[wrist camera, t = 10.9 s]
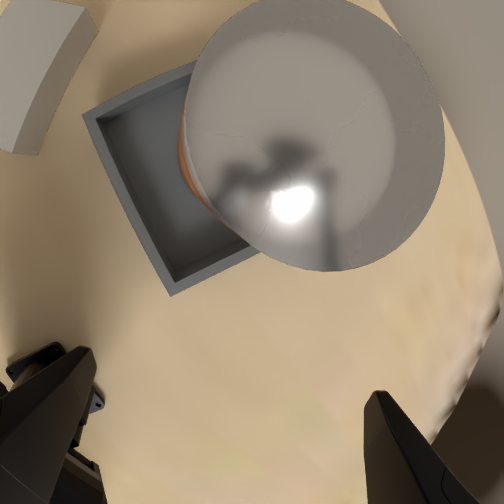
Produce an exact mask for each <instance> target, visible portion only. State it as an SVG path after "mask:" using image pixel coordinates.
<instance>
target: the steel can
mask: <svg viewBox="0 0 504 504" xmlns="http://www.w3.org/2000/svg"><path fill="white" fill-rule="evenodd" d="M444 157H445V133H444V123H443V117H442V112H441V107H440V104H439V100H438V97H437V94H436V91H435V89H434V86H433V84H432V81H431V79H430V77H429V75H428V73H427V71H426V70H425V68H424V66H423V64H422V63H421V61H420V60H419V58H418V57H417V55H416V54H415V52H414V51H413V50H412V48H411V47H410V46H409V45H408V44H407V43H406V41H405V40H404V39H403V38H402V37H401V36H400V35H399V34H398V33H397V32H396V31H395V30H394V29H393V28H392V27H390V26H389V25H388V24H386V23H385V22H384V21H383V20H381V19H380V18H379V17H377V16H375V15H374V14H372V13H370V12H369V11H367V10H365V9H363V8H361V7H359V6H357V5H355V4H353V3H350V2H348V1H345V0H262V1H259V2H257V3H254V4H252V5H250V6H248V7H246V8H245V9H243V10H241V11H240V12H238V13H236V14H235V15H234V16H233V17H231V18H230V19H229V20H228V21H226V22H225V23H224V24H223V25H222V26H221V27H220V28H219V29H218V30H217V31H216V33H215V34H214V35H213V36H212V37H211V38H210V40H209V41H208V43H207V44H206V46H205V48H204V49H203V51H202V52H201V54H200V56H199V58H198V60H197V63H196V65H195V68H194V70H193V72H192V76H191V80H190V84H189V88H188V92H187V95H186V98H185V101H184V105H183V109H182V114H181V119H180V126H179V134H178V141H177V163H178V167H179V171H180V174H181V177H182V179H183V181H184V182H185V184H186V186H187V187H188V189H189V190H190V191H191V193H192V194H193V195H194V196H195V197H196V198H197V199H198V200H199V201H200V202H201V203H202V204H203V205H204V206H205V207H206V208H207V209H208V210H209V211H210V212H211V213H212V214H213V215H215V216H216V217H217V218H218V219H219V220H220V221H221V222H223V223H224V224H225V225H226V226H227V227H229V228H230V229H232V230H233V231H235V232H236V233H237V234H238V235H239V236H240V237H242V238H243V239H244V240H245V241H247V242H248V243H249V244H250V245H251V246H253V247H254V248H256V249H257V250H259V251H261V252H262V253H264V254H266V255H267V256H269V257H271V258H273V259H275V260H278V261H280V262H282V263H285V264H287V265H290V266H294V267H298V268H302V269H305V270H313V271H322V272H327V271H343V270H349V269H355V268H358V267H361V266H364V265H367V264H370V263H373V262H375V261H377V260H379V259H381V258H383V257H385V256H386V255H388V254H389V253H391V252H392V251H393V250H395V249H396V248H398V247H399V246H400V245H401V244H402V243H403V242H404V241H406V240H407V239H408V238H409V237H410V236H411V234H412V233H413V232H414V231H415V230H416V229H417V227H418V226H419V225H420V223H421V222H422V220H423V219H424V217H425V216H426V214H427V212H428V210H429V209H430V207H431V205H432V203H433V201H434V198H435V195H436V193H437V190H438V187H439V184H440V180H441V176H442V171H443V165H444Z"/></svg>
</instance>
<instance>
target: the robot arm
mask: <svg viewBox="0 0 504 504" xmlns="http://www.w3.org/2000/svg"><path fill="white" fill-rule="evenodd" d="M54 347H55V348H57V349H58V351H56V350H55V349H54ZM96 369H97V365H96V362H95V358H94V355H93V352H92V350H91V348H88V347H85V346H78V347H76V348H75V349H73V350H72V351H70V352H69V353H66V351H65V350H64V348H63V347H62V346H61V344H60V343H58V342H53V343H51V344H49V345H47V346H45V347H43V348H41V349H39V350H37V351H35V352H33V353H31V354H29V355H27V356H25V357H23V358H21V359H19V360H17V361H15V362H13V363H11V364H9V365H8V366H7V368H6V373H7V375H8V376H9V377H10V378H11V380H12V381H13V382H14V384H13V386H12V388H11V389H10V391H9V392H8V391H7V389H6V387H5V385H4V384H3V383H2V382H1V381H0V504H107V499H106V495H105V491H104V487H103V483H102V479H101V474H100V469H99V465H98V464H96V463H95V462H93V461H90V460H88V459H87V458H85V457H84V456H83V455H81V454H80V453H79V452H77V451H76V450H75V449H73V448H75V447H78V446H79V443H80V439H81V435H82V430H83V426H84V425H86V423H87V419H88V415H89V414H90V413H93V412H96V411H98V410H101V409H103V408H104V406H105V401H104V400H103V398H102V397H101V396H100V395H99V394H98V392H97V391H96V390H95V388H94V386H93V385H92V383H93V380H94V376H95V373H96ZM10 370H11V371H12V372H11V371H10ZM97 402H98V403H100V404H98V403H97ZM364 461H365V472H366V485H367V499H368V504H480V503H479V501H477V500H476V499H475V498H474V496H473V495H472V494H471V493H470V492H469V491H468V490H467V489H466V488H465V487H464V486H463V485H462V484H461V483H460V482H459V481H458V479H457V478H456V477H455V476H454V474H453V473H452V472H451V471H450V469H449V468H448V467H447V466H445V463H444V462H443V460H442V459H441V458H440V457H439V456H438V454H437V453H436V452H435V450H434V449H433V448H432V447H431V445H430V444H429V443H428V442H427V440H426V439H425V438H424V436H423V435H422V434H421V433H420V431H419V430H418V429H417V428H416V426H415V425H414V424H413V423H412V421H411V420H410V419H409V418H408V416H407V415H406V414H405V413H404V411H403V410H402V409H401V408H400V406H399V405H398V404H397V403H396V401H395V400H394V399H393V398H392V397H391V395H390V394H389V393H388V392H387V391H381V390H376V391H374V392H373V393H372V395H371V397H370V398H369V400H368V401H367V403H366V405H365V407H364Z"/></svg>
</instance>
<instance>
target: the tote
mask: <svg viewBox="0 0 504 504" xmlns="http://www.w3.org/2000/svg"><path fill="white" fill-rule="evenodd" d="M196 63H197V61H194V62H191V63H189V64H186V65H184V66H181V67H179V68H176V69H174V70H171V71H169V72H167V73H164V74H162V75H160V76H157V77H155V78H153V79H151V80H148V81H146V82H144V83H142V84H140V85H138V86H135V87H133V88H131V89H129V90H127V91H125V92H123V93H121V94H119V95H117V96H115V97H113V98H111V99H110V100H108V101H106V102H104V103H102V104H100V105H98V106H97V107H95V108H93V109H91V110H89V111H88V112H86V113H84V114H82V116H83V119H84V121H85V124H86V126H87V129H88V131H89V134H90V136H91V138H92V141H93V143H94V145H95V148H96V150H97V152H98V155H99V157H100V159H101V161H102V164H103V166H104V168H105V170H106V172H107V175H108V177H109V179H110V181H111V183H112V186H113V188H114V190H115V192H116V194H117V196H118V198H119V200H120V202H121V204H122V206H123V208H124V211H125V213H126V215H127V217H128V219H129V221H130V223H131V225H132V227H133V229H134V231H135V232H136V234H137V236H138V238H139V240H140V242H141V244H142V246H143V248H144V250H145V252H146V254H147V255H148V257H149V259H150V261H151V263H152V265H153V267H154V268H155V270H156V272H157V274H158V276H159V277H160V279H161V281H162V283H163V285H164V286H165V288H166V290H167V292H168V293H169V295H170V297H171V296H173V295H175V294H177V293H179V292H181V291H183V290H185V289H187V288H189V287H191V286H193V285H195V284H197V283H199V282H201V281H203V280H205V279H207V278H209V277H211V276H213V275H215V274H217V273H219V272H221V271H224V270H226V269H228V268H230V267H232V266H234V265H236V264H238V263H240V262H242V261H244V260H246V259H248V258H250V257H252V256H254V255H256V254H258V253H260V252H261V251H259V250H257V249H256V248H254V247H253V246H251V245H250V244H249V243H248V242H247V241H245V240H244V239H243V238H242V237H240V236H239V235H238V234H237V233H236V232H235V231H233V230H232V229H230V228H229V227H227V226H226V225H225V224H224V223H223V222H221V221H220V220H219V219H218V218H217V217H216V216H215V215H213V214H212V213H211V212H210V211H209V210H208V209H207V208H206V207H205V206H204V205H203V204H202V203H201V202H200V201H199V200H198V199H197V198H196V197H195V196H194V195H193V194H192V193H191V191H190V190H189V189H188V187H187V186H186V184H185V182H184V181H183V179H182V177H181V174H180V171H179V167H178V163H177V141H178V134H179V126H180V119H181V114H182V109H183V105H184V101H185V98H186V95H187V92H188V88H189V84H190V80H191V76H192V72H193V70H194V68H195V65H196Z"/></svg>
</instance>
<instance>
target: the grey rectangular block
mask: <svg viewBox="0 0 504 504" xmlns="http://www.w3.org/2000/svg"><path fill="white" fill-rule="evenodd" d="M98 32H99V31H98V29H97V27H96V25H95V23H94V21H93V20H92V18H91V16H90V14H89V12H88V10H87V8H86V7H83V6H79V5H74V4H69V3H64V2H59V1H53V0H11V1H10V3H9V4H8V6H7V7H6V9H5V10H4V12H3V14H2V15H1V17H0V149H2V150H5V151H7V152H10V153H15V154H27V155H38V153H39V150H40V148H41V145H42V143H43V140H44V137H45V135H46V133H47V130H48V128H49V125H50V123H51V121H52V118H53V116H54V114H55V112H56V109H57V107H58V105H59V103H60V101H61V99H62V97H63V95H64V93H65V91H66V89H67V87H68V85H69V83H70V81H71V79H72V77H73V75H74V73H75V71H76V69H77V68H78V66H79V64H80V62H81V60H82V59H83V57H84V55H85V53H86V52H87V50H88V48H89V47H90V45H91V43H92V42H93V40H94V38H95V37H96V35H97V34H98Z"/></svg>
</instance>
